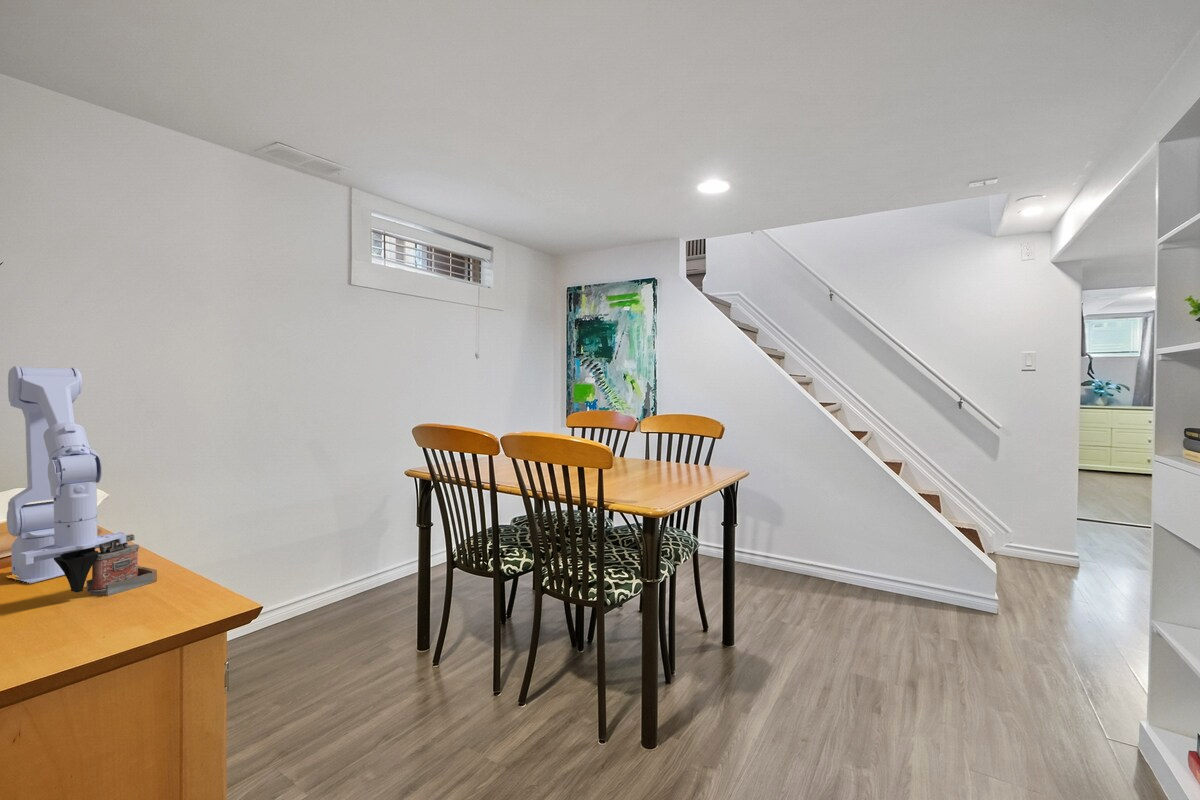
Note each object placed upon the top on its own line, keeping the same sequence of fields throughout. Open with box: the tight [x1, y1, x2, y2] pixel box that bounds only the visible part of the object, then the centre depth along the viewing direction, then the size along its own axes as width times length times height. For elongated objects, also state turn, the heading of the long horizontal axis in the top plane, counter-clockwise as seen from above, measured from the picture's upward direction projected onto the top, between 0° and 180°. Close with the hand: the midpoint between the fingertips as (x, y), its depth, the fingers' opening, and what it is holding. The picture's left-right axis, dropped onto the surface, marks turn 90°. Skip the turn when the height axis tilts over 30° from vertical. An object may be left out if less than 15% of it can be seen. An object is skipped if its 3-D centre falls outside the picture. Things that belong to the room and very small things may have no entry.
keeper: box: [85, 565, 158, 597], centre depth 105 cm, size 7×8×2 cm
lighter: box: [90, 533, 140, 596], centre depth 103 cm, size 8×3×10 cm, turn 170°
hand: (77, 591), depth 98 cm, fingers closed
